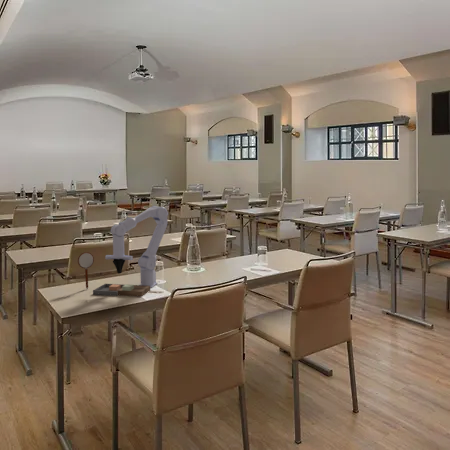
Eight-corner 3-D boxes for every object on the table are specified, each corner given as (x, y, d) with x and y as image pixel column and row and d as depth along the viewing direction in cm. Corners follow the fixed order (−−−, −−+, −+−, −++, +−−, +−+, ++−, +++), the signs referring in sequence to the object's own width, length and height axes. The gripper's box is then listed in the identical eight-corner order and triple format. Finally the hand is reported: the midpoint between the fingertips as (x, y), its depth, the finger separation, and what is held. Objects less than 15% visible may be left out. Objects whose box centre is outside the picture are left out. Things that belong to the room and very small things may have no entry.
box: (105, 287, 263) (105, 283, 263) (127, 288, 260) (127, 284, 260) (93, 294, 249) (92, 290, 249) (116, 295, 247) (116, 291, 246)
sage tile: (125, 288, 252) (125, 284, 252) (134, 288, 251) (133, 284, 251) (122, 290, 248) (122, 286, 247) (130, 290, 247) (130, 286, 246)
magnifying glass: (94, 287, 263) (92, 251, 260) (95, 288, 262) (94, 251, 259) (78, 290, 258) (76, 253, 255) (79, 290, 257) (78, 253, 254)
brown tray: (127, 289, 259) (127, 284, 259) (150, 290, 257) (150, 285, 256) (117, 295, 248) (117, 290, 247) (141, 296, 245) (141, 291, 245)
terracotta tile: (120, 284, 259) (120, 288, 259) (112, 284, 260) (112, 288, 260) (117, 286, 255) (117, 290, 255) (109, 286, 255) (109, 290, 256)
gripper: (102, 248, 251) (103, 274, 253) (128, 249, 248) (129, 275, 250) (108, 246, 258) (109, 271, 260) (134, 246, 255) (134, 272, 257)
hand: (119, 273), depth 256 cm, fingers closed
